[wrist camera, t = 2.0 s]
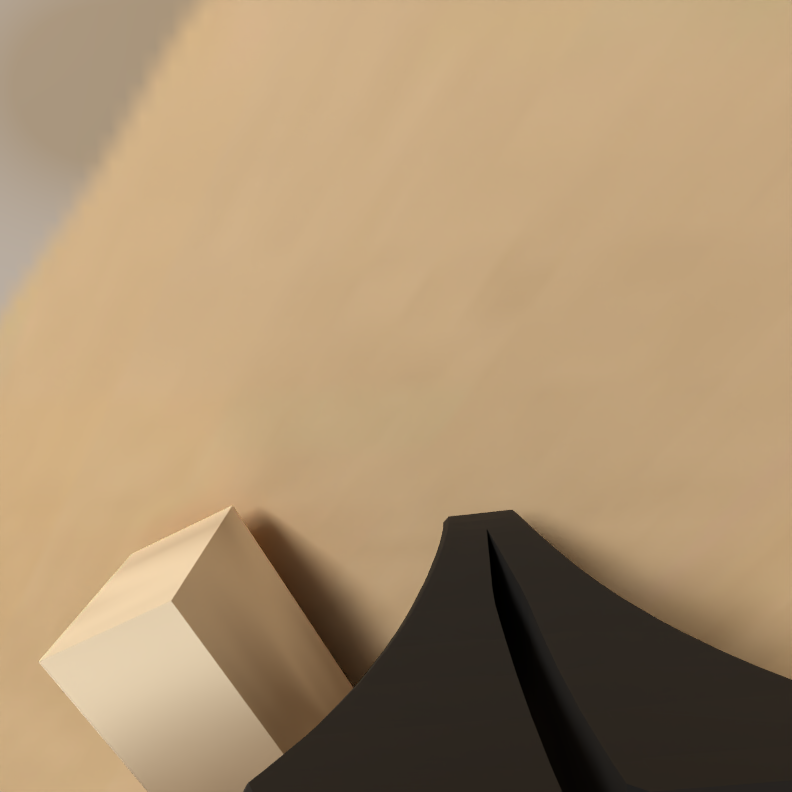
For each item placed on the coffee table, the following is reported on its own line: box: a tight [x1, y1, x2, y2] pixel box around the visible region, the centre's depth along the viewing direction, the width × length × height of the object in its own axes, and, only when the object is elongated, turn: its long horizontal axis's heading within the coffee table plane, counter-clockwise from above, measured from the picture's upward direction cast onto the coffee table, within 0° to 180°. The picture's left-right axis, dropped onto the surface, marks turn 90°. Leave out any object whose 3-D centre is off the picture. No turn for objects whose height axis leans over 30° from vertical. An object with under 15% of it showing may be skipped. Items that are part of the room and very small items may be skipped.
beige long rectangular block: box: [39, 505, 353, 792], centre depth 11 cm, size 9×3×3 cm, turn 27°
